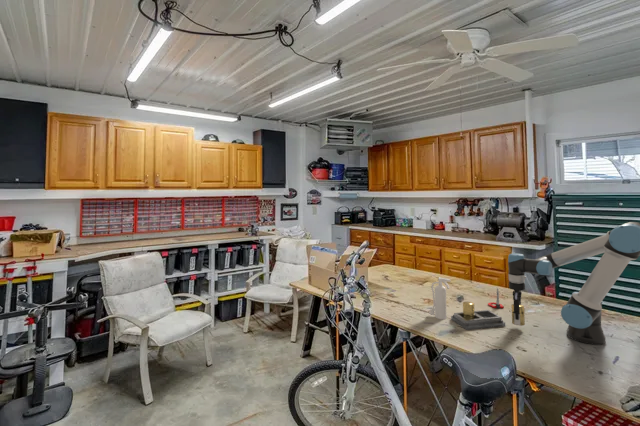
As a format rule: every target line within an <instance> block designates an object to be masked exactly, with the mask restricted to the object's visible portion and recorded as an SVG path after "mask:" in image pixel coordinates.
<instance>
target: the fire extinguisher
mask: <svg viewBox="0 0 640 426" xmlns="http://www.w3.org/2000/svg"><path fill="white" fill-rule="evenodd" d="M449 282H451V279H450V278H447V277H442V276H441V277H440V276H439V277H438V279H437V281H434V282H432V283H431V287H430V288H431V292H432V300H433V301H432V302H433V303H432V304H433V305H432V307H431V309H429V312H428V314H429V315H430V316H435V319H437V320H446V319H447V289H448V290H449V289H450V285H449V284H448V283H449ZM435 284H438V285H436V286H435V287H434V285H435ZM443 284H444V285H445V286H446V287H445V286H444V285H443Z"/></svg>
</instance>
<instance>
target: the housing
mask: <svg viewBox="0 0 640 426" xmlns="http://www.w3.org/2000/svg"><path fill="white" fill-rule="evenodd" d="M450 320H452V321H453V322H454V323H456V324H457V325H458V326H460V327H462V328H463V329H464V330H465V331H469V330H471V331H472V330H479V329H481V328H482V329H489V328H491V329H492V328H498V327H506V322H505V321H504V320H503V318H502V316H500V315H498V314H497V313H495V312H493V311H491V310H490V309H482V310H475V303H474V302H472V301H463V302H462V312H454V313H453V314H452V315H451V316H450Z"/></svg>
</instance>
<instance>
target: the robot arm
mask: <svg viewBox="0 0 640 426" xmlns="http://www.w3.org/2000/svg"><path fill="white" fill-rule="evenodd" d="M600 254H603V255H601V257H600V259H599V261H598V262H597V263H596V265H595V267H593V270H592V271H591V273H590V274H589V276H588V278H587V279H586V281H585V282H584V284H583V285H582V287H581V288H580V290H579V291H573V292H572V293H571V296H570V298H569V299H568V301H567V302H566V304H565V305H563V306H562V307H561V311H560V316H561V318H562V320H563V321H564V322H565V323H566V324H567V325H568V327H567V328H566V335H567V337H569V338H570V339H572V340H574V341H577V342H580V343H583V344H589V345H597V346H598V345H604V344H605V343H606V341H607V340H606V335H605V334H604V330H603V328H602V310H603V307H602V306H603V300H604V299H605V297H606V296H607V294H608V293H609V292H610V290H611V289H612V288H613V286H614V285H615V283H616V281H617V280H618V279H619V278H620V276H621V275H622V274H623V272H624V270H625V269H626V267H627V266H628V265H629V264H630V262H631V261H635V260H637V259H639V256H640V222H636V221H629V222H625V223H623V224H619V225H617V226H616V227H614V228H613V229H612V230H609V231H607V232H606V234H604V235H600V236H597V237H595V238H591V239H589V240H586V241H584V242H580V243H577V244H575V245H571V246H569V247H565V248H562V249H560V250H557V251H554V252H552V253H548V254H544V255H542V256H540V257H538V258H535V259H533V258H525V255H524V254H523V253H517V252H516V253H509V254H508V256H507V257H508V258H507V266H508V272H507V273H508V274H507V276H508V288H509V289H510V290H513V291H512V300H513V304H514V312H513V313H514V324H513V325H515V326H520V305H522V291H524V290H526V283H525V280H526V279H527V276H525V273H527V274H528V273H529V274H535V275H540V276H550V275H551V274H552V272H553V269H555V268H559V267H561V266H564V265H568V264H571V263H574V262H578V261H581V260H585V259H587V258H592V257H594V256H597V255H600Z"/></svg>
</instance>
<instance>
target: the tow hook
mask: <svg viewBox="0 0 640 426" xmlns="http://www.w3.org/2000/svg"><path fill="white" fill-rule="evenodd" d="M499 298H500V292H499V288H496V302H491V301H490V302H488V303H487V305H488V306H489V307H492V309H504V305H503V304H501V303H500V299H499Z"/></svg>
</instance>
